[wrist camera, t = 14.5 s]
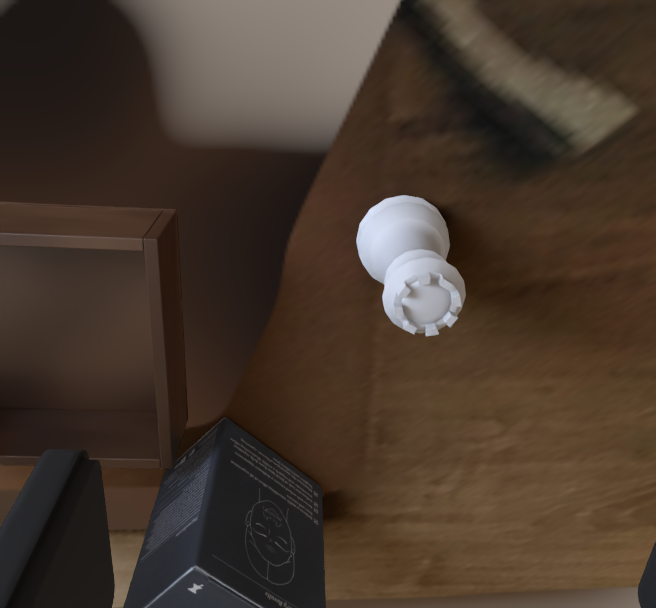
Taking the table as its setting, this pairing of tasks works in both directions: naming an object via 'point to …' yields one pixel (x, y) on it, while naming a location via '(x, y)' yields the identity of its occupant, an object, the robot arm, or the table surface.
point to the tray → (91, 334)
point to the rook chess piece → (411, 263)
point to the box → (232, 531)
